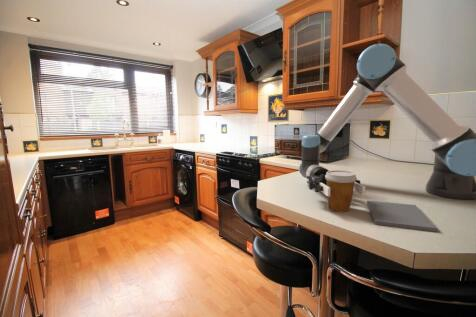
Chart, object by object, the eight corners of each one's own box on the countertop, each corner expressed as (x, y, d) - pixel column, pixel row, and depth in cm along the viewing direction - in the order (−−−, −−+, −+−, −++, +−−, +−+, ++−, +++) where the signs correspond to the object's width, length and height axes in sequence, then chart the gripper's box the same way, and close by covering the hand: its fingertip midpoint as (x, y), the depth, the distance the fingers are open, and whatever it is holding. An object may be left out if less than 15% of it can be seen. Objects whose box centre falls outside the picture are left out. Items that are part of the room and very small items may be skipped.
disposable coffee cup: (353, 204, 81) (354, 170, 79) (357, 215, 72) (359, 177, 71) (323, 202, 84) (324, 169, 83) (324, 212, 75) (325, 175, 74)
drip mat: (415, 207, 77) (415, 205, 77) (436, 231, 61) (437, 228, 60) (366, 203, 82) (366, 200, 82) (374, 224, 66) (374, 220, 66)
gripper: (346, 183, 96) (381, 201, 74) (290, 185, 95) (309, 204, 73) (346, 165, 95) (383, 178, 73) (290, 167, 94) (310, 181, 72)
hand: (346, 191), depth 73 cm, fingers open, 10 cm apart
